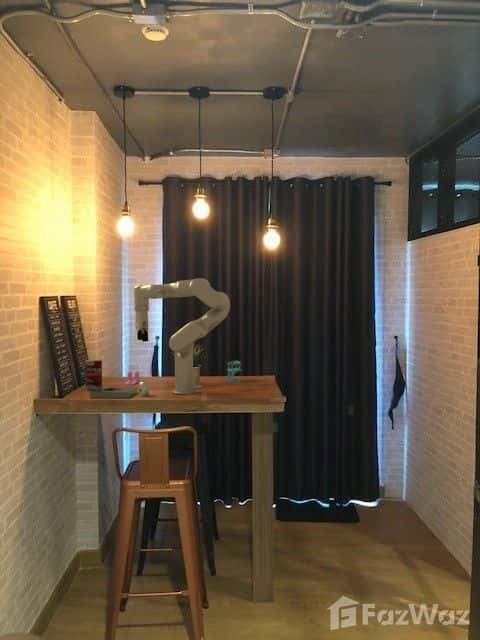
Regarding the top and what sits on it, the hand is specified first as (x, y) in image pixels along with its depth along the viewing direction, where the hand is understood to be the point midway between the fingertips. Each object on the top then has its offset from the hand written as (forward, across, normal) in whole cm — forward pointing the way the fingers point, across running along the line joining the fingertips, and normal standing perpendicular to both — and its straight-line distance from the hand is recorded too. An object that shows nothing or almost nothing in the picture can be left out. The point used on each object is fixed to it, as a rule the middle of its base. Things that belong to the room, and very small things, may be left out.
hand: (142, 340), depth 273 cm
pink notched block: (+27, -26, -1) cm, 37 cm away
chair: (+28, -4, +55) cm, 62 cm away
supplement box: (+27, -20, -23) cm, 41 cm away
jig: (+27, +4, -17) cm, 32 cm away
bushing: (+27, +12, -3) cm, 30 cm away
